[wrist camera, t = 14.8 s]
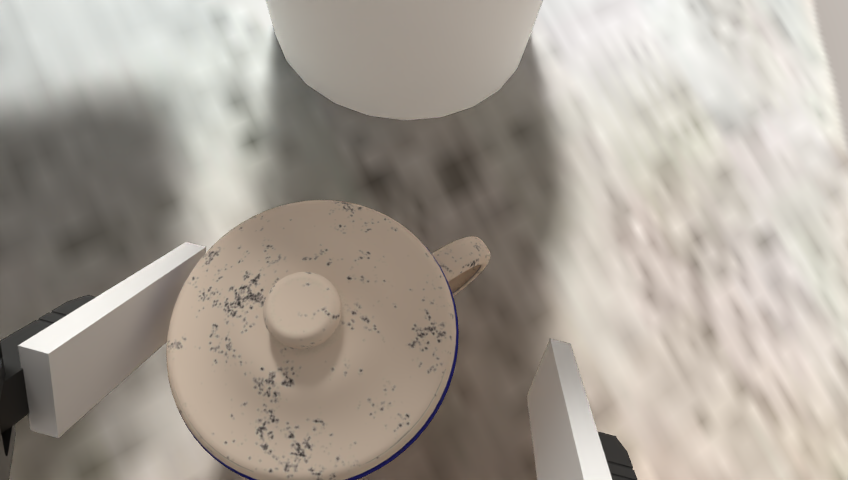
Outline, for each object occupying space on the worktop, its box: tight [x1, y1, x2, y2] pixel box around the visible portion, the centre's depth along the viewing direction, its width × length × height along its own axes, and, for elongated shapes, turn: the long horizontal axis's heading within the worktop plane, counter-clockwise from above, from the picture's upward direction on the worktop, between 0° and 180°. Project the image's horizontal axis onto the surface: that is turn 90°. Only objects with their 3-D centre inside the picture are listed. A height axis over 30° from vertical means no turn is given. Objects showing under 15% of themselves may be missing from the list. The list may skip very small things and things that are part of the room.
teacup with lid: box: [166, 200, 490, 480], centre depth 17 cm, size 12×9×12 cm
